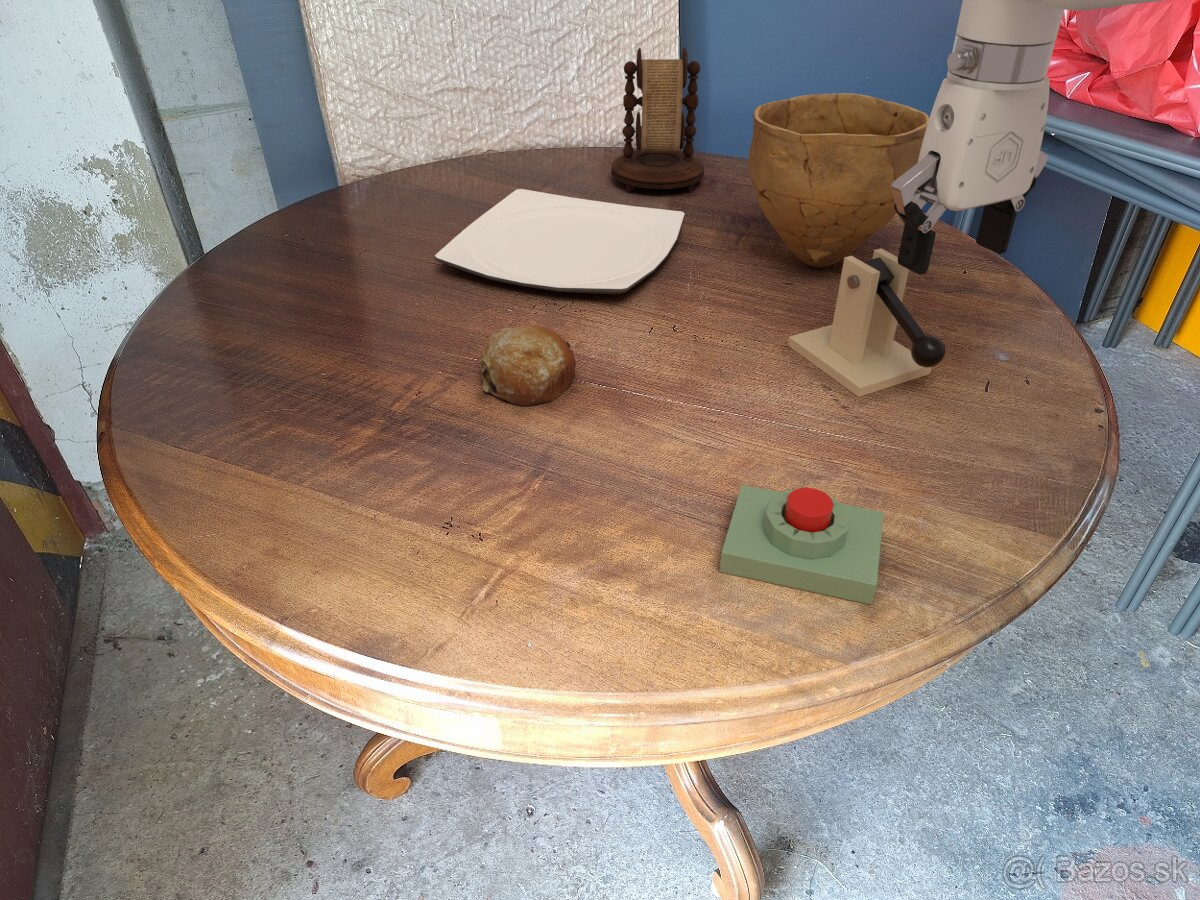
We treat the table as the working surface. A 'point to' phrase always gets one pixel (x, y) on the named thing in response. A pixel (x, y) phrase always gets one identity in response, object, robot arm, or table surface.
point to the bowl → (831, 168)
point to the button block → (803, 547)
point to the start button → (808, 510)
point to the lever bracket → (862, 332)
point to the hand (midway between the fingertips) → (951, 258)
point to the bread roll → (527, 365)
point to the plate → (564, 243)
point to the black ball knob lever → (907, 320)
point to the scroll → (659, 125)
